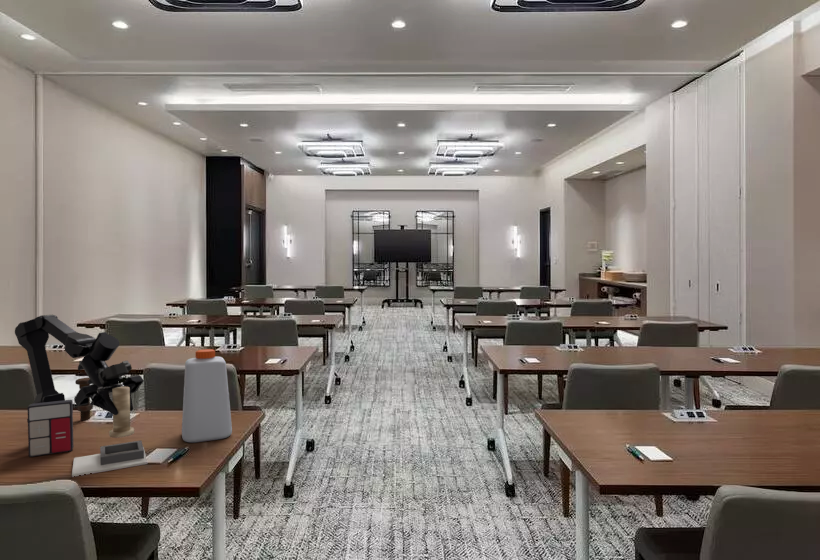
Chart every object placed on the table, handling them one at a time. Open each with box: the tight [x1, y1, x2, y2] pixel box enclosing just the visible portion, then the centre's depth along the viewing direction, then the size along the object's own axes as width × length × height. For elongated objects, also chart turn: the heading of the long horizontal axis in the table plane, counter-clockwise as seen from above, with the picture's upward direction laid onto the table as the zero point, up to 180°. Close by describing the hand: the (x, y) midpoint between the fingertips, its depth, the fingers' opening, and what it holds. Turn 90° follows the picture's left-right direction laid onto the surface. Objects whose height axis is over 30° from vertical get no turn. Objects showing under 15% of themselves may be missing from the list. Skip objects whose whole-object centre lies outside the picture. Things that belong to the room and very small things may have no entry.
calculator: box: [27, 399, 74, 458], centre depth 161 cm, size 11×4×15 cm, turn 117°
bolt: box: [75, 377, 94, 421], centre depth 197 cm, size 6×5×15 cm
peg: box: [108, 387, 135, 439], centre depth 156 cm, size 6×6×13 cm
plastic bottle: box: [181, 348, 233, 444], centre depth 177 cm, size 15×15×28 cm
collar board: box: [71, 440, 148, 478], centre depth 153 cm, size 18×15×3 cm
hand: (124, 412), depth 156 cm, fingers closed on peg, 4 cm apart
